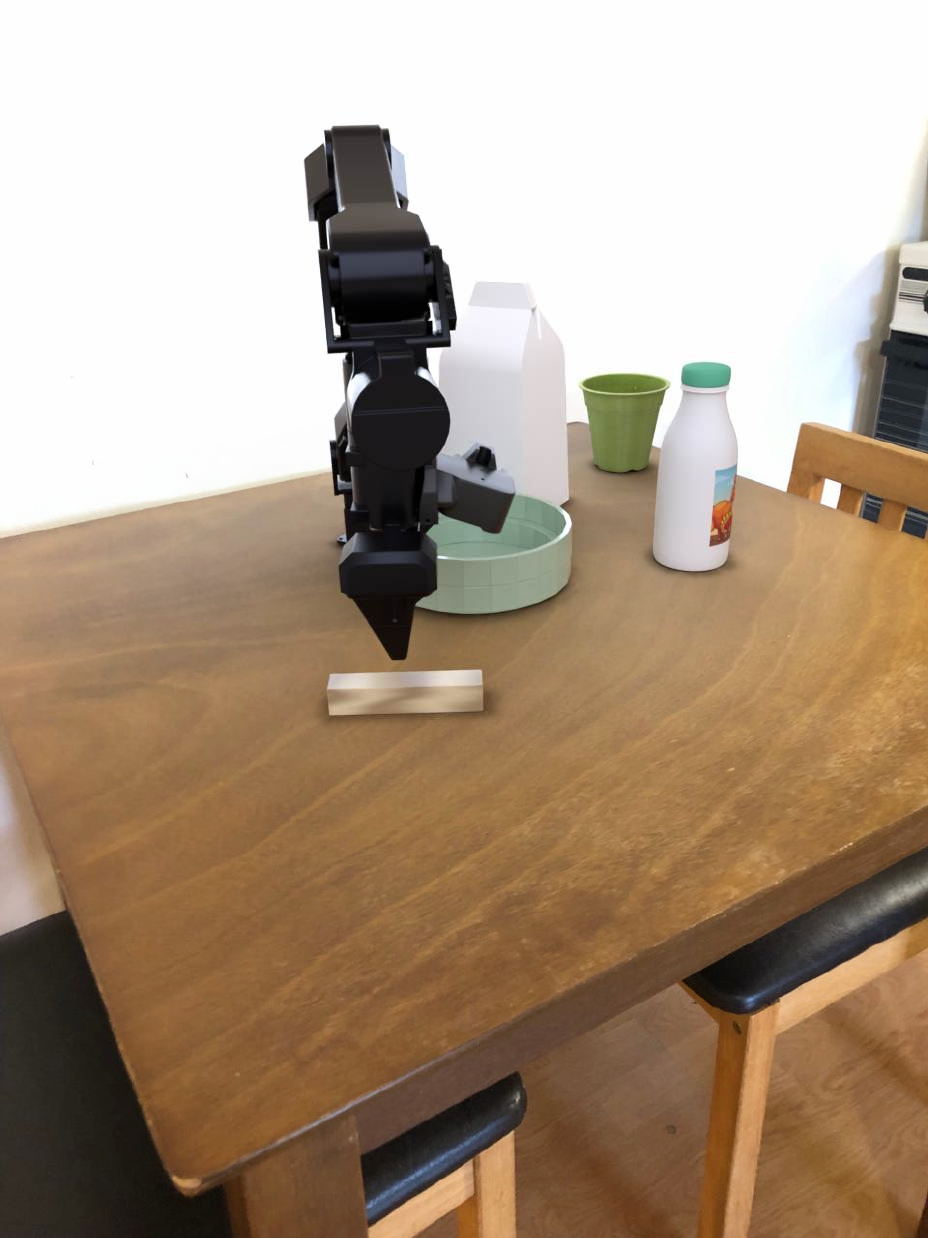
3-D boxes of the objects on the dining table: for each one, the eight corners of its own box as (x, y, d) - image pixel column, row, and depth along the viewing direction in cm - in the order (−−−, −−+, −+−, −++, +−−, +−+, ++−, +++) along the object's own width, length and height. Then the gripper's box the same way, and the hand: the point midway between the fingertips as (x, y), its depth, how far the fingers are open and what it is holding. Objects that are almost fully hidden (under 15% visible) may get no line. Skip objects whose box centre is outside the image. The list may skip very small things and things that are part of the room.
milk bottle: (684, 579, 93) (701, 377, 84) (637, 553, 99) (649, 363, 90) (743, 563, 96) (766, 367, 87) (694, 539, 103) (711, 354, 94)
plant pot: (575, 452, 133) (578, 372, 128) (660, 453, 131) (666, 372, 126) (576, 478, 122) (579, 392, 117) (668, 479, 121) (675, 392, 116)
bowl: (442, 530, 107) (440, 480, 104) (598, 559, 98) (601, 505, 96) (343, 595, 92) (338, 538, 89) (517, 635, 83) (517, 574, 81)
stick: (329, 715, 72) (326, 689, 71) (332, 699, 75) (329, 673, 74) (483, 711, 72) (483, 684, 71) (482, 695, 75) (482, 669, 73)
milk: (436, 512, 112) (427, 284, 101) (485, 484, 121) (481, 272, 109) (524, 529, 107) (525, 290, 95) (568, 499, 115) (574, 276, 104)
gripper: (516, 465, 55) (515, 691, 62) (501, 391, 72) (502, 575, 79) (327, 470, 55) (349, 695, 62) (356, 395, 72) (371, 579, 79)
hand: (402, 629), depth 71 cm, fingers open, 9 cm apart
